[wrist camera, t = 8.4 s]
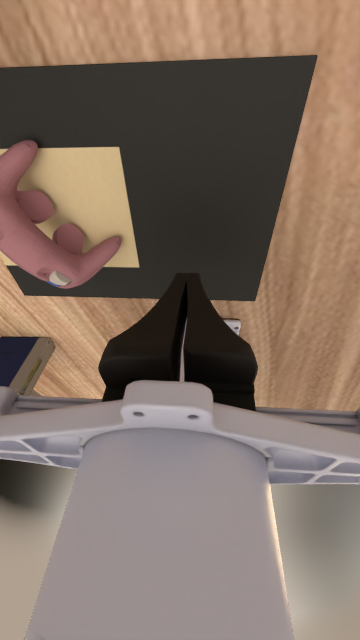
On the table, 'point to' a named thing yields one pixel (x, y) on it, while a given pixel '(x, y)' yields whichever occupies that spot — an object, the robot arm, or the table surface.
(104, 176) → the desk mat
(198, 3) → the table surface
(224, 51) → the table surface
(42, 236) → the pink curved piece
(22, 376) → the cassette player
